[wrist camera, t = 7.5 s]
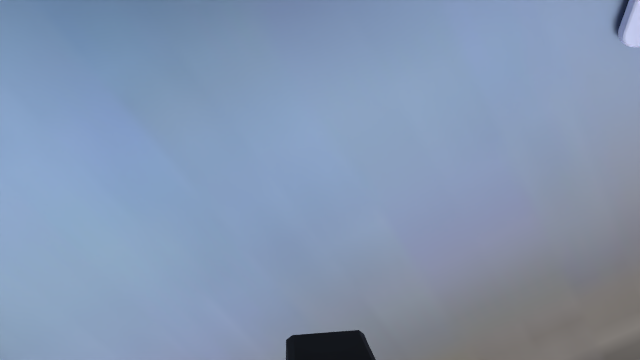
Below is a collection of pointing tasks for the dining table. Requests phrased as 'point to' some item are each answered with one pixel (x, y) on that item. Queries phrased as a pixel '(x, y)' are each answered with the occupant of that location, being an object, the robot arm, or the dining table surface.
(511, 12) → the dining table surface
